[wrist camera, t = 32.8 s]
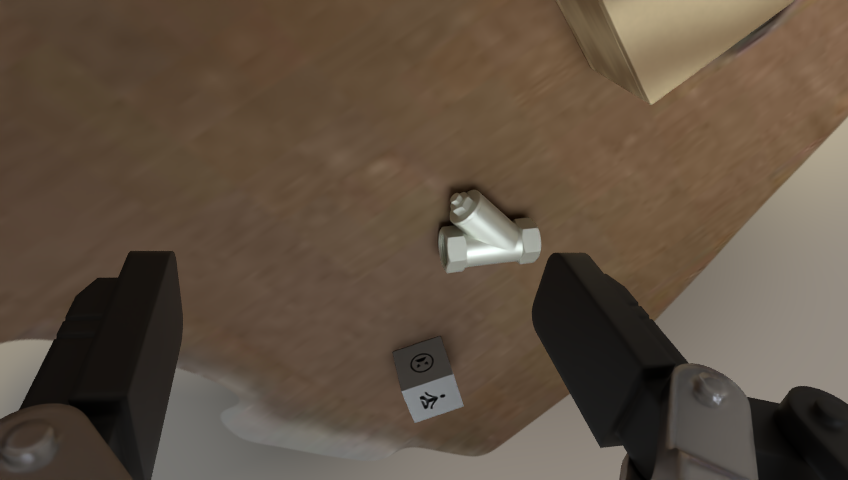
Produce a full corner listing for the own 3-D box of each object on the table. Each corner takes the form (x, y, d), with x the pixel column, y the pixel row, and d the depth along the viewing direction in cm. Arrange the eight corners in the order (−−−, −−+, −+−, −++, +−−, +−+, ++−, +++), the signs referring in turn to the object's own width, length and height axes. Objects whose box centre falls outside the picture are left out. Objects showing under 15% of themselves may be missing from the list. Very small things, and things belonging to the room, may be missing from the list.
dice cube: (392, 352, 53) (401, 391, 49) (440, 336, 53) (453, 373, 49) (405, 383, 56) (414, 422, 52) (450, 367, 56) (463, 406, 52)
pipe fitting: (438, 185, 44) (437, 255, 47) (450, 205, 40) (448, 279, 44) (529, 176, 45) (522, 245, 48) (548, 195, 42) (539, 268, 45)
